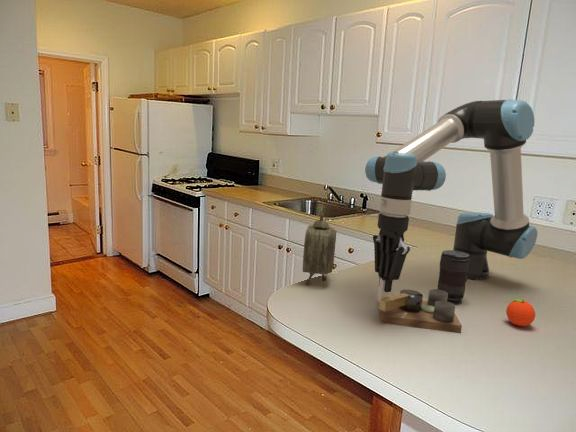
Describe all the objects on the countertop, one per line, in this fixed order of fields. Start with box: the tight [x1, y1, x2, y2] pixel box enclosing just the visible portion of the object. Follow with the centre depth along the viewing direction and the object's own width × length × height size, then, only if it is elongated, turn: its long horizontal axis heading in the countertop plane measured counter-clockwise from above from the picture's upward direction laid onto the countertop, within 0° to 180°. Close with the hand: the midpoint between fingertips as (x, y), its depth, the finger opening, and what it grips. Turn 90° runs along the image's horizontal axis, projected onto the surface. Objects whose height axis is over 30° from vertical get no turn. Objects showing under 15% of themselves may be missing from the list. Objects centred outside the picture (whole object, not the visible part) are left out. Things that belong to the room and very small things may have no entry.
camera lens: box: [436, 249, 469, 305], centre depth 128 cm, size 8×8×15 cm
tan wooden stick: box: [378, 289, 424, 312], centre depth 113 cm, size 15×6×4 cm, turn 127°
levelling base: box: [377, 288, 463, 334], centre depth 115 cm, size 20×15×6 cm
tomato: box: [505, 298, 536, 327], centre depth 114 cm, size 8×7×7 cm
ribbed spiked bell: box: [302, 205, 337, 286], centre depth 137 cm, size 14×9×25 cm, turn 170°
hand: (383, 301), depth 111 cm, fingers closed
